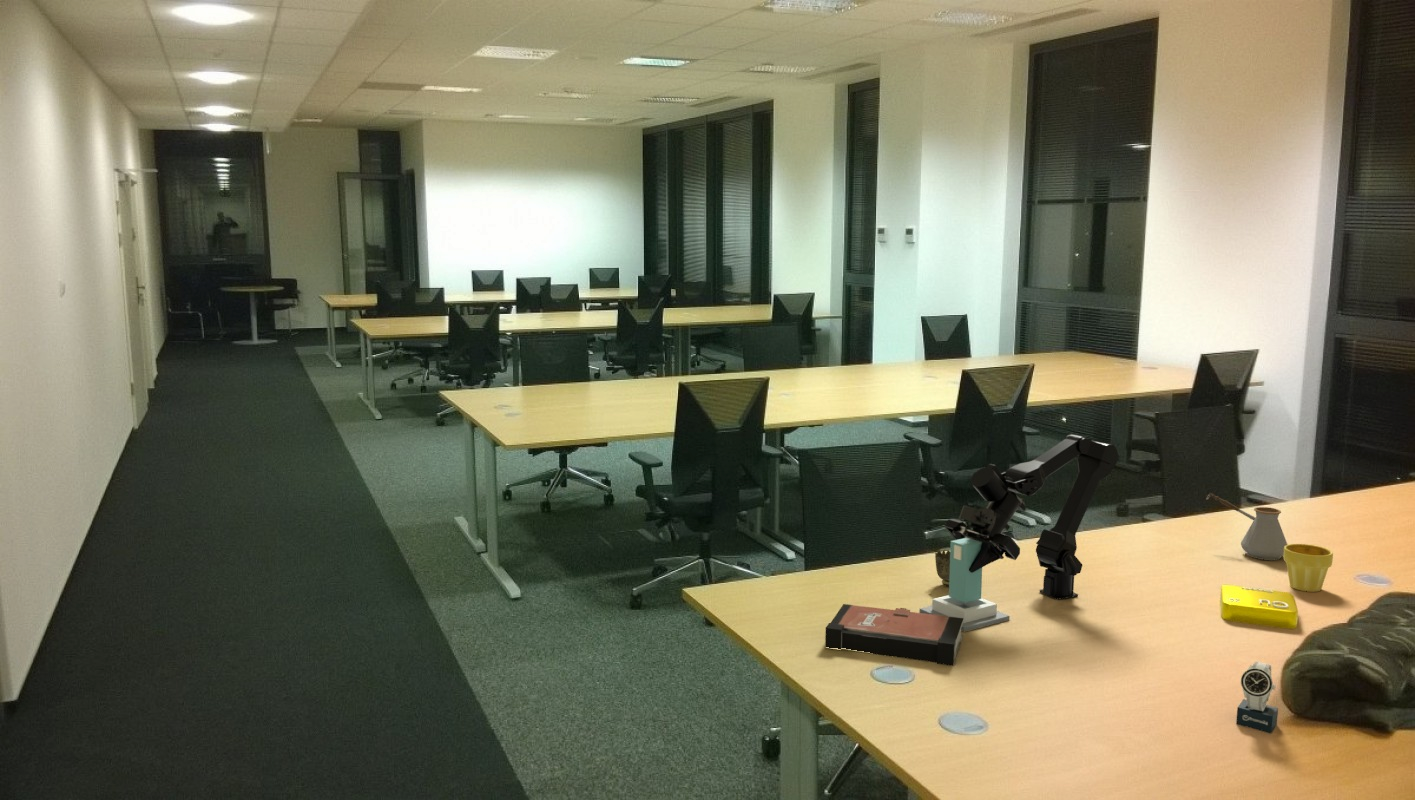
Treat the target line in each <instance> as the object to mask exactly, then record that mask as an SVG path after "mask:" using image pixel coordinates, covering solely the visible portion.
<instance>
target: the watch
mask: <svg viewBox="0 0 1415 800" xmlns="http://www.w3.org/2000/svg"><path fill="white" fill-rule="evenodd" d="M1240 685H1241V688H1242V691H1243V697H1244V698H1243V699H1242V701H1241V702H1240V703H1239V704H1238V706H1237V707H1236V708H1237V711H1236V721H1235V722H1236V723H1235V724H1236V725H1238V726H1240V727H1245V728H1249V729H1254V730H1257V731H1261V732H1264V733H1268V734H1272V733H1273V731H1274V730H1275V728H1276V727H1277V725H1278V715H1279V714H1278V713H1279V707H1277V706H1272V705H1268V704H1267V702H1269V699H1270V697H1271V693H1272V692H1273V691H1272V690H1276V689H1277V685H1275V684H1274V683H1273V678H1272V664H1268V663H1263V662H1259V661H1254V663H1253V664H1252V665H1251V664H1250V665H1249V666H1248V668H1247V670H1245V671H1244V672H1243V674H1242V675H1241V676H1240Z"/></svg>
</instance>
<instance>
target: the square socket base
mask: <svg viewBox="0 0 1415 800" xmlns="http://www.w3.org/2000/svg"><path fill="white" fill-rule="evenodd" d="M997 609H998V603H995V602H993V601H990V600H988V599H985V598H983V597H981V599H979V600H975V601H971V602H967V603H964V602H961V601H959V600H956V599H954V598H951V597H949V594H947V595H944V596H941V597H936V598H932V603H931V605H928V606H923V607H920V608H919V612H918V613H924V614H932V615H940V616H949V617H957V618H964V621H963V624H962V627H961V632H963V633H965V632H970V631H973V630H977V629H981V628H985V627H988V626H989V627H990V626H993V625H997V624H1001V623H1003V622H1007V621H1010V615H1008V614H1006V613H1004V612H1001V611H998V610H997Z"/></svg>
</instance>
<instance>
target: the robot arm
mask: <svg viewBox="0 0 1415 800" xmlns="http://www.w3.org/2000/svg"><path fill="white" fill-rule="evenodd" d="M1119 456H1120V454H1119V452H1118V449H1117V447H1116V446H1115V445H1114V444H1111V443H1107V442H1106V443H1105V442H1100V441H1096V440H1091V439H1089V438H1087V437H1086V436H1081V435H1077V434H1068V435H1066V436H1065V437H1064V439H1063V440H1062V441H1060V442H1058V443H1057V444H1056V445H1054V446H1052V447H1051V448H1050V449H1048V450H1046V451H1045V452H1043V453H1042V454H1040V455H1039V456H1037V457H1036V458H1034V459H1033V460H1030V461H1026V462H1020V463H1018V464H1015V465H1013V466H1011V467H1009V468H1008V469H1007V470H1006V471H1003V472H1001V471H1000V470H999V467H997V465H995V464H992V463H989V464H988V465H987V466H985V467H983V468H980V469H979V470H977V471H976V472H974V473H973V474H972V476H971V477H970V484H971V485H972V486H973V488H974V489H975V490H976V491H977V492H978V493H979V495H980V496H981V497H982V499H984V500H985V501H986V502H989V504H988V505H987V506H986V507H981V508H980V509H977V508H975V507H971V506H968V505H963V506H962V508H961V511H960V514H959V517H958V519H955V518H950V519H948V520H947V521H946V523H945V525H944V526H943V527H944V528H945V530H946V531H947V532H948V533H949V534H950V535H951V537H953V538H954V540H958V539H963V538H969V539H972V540H975V541H978V542H981V543H982V545H981V550H980V551H979V553H978V555H977V556H976V558H975V559H974V561H973V563H972V564H971V566H970V568H969V571H970V572H971V573H973V572H975V571H977V570H978V569H980V568H982V569H983V568H984V567H986V566H988V565H990V564H991V563H994V562H996V561H998V560H1004V558H1005V557H1006V558H1007V559H1008V558H1009V559H1011V560H1014V561H1016V560H1017V559H1018V558H1019V555H1020V554H1021V552H1020V551H1021V548H1020V546H1019V545H1018V544H1017V543H1016V541H1015V540H1014V539H1013V538H1012V537H1011V535H1006V534H1004V533H1003V531H1004V530H1005V531H1009V530H1010V528H1011V526H1010V525H1009V522H1010V521H1011V520H1012V517H1014V514H1015V513H1016V512H1017V510H1019V511H1023V512H1025V511H1026V510H1027V509H1026V504H1025V498H1022V497H1019V496H1018V495H1017V494H1021V495H1023V496H1028V497H1031V496H1033V495H1035V494H1036V493H1038V491H1039V490H1040V489H1041V488H1043V486H1044V485H1045V482H1046V479H1047V478H1048V477H1049V476H1051V475H1052V474H1054V473H1055V472H1057V471H1058V470H1059V469H1061V468H1062V467H1064V466H1065V465H1066V464H1068V463H1070V462H1071V461H1072V460H1074V459H1076V458H1077V457H1078V458H1077V466H1078V467H1077V468H1078V474H1077V475H1076V477H1075V478H1076V479H1075V481H1074V483H1073V485H1072V488H1071V489H1070V492H1069V494H1068V496H1067V499H1066V501H1065V502H1064V505H1063V507H1062V509H1061V512H1060V514H1059V516H1058V519H1057V521H1056V523H1055V525H1054V526H1053V527H1052V528H1050V529H1046V528H1043V530H1042V531H1041V534H1040V536H1039V539H1038V540H1037V541H1036V547H1035V553H1036V557H1037V560H1038V563H1039V567H1041V568H1045V570H1044V576H1043V586H1042V588H1041V589H1039V593H1041V594H1044V595H1046V596H1048V597H1049V598H1052V599H1055V600H1058V601H1059V600H1066V599H1070V598H1071V599H1072V598H1076V597H1078V596H1079V594H1078V593H1076V592H1075V591H1074V590H1075V589H1074V587H1075V576H1077V574H1080V573H1081V572H1082V567H1083V563H1082V562H1081V561H1080V560H1079V558H1078V557H1077V556H1076V552H1077V548H1078V547H1077V539H1076V534H1077V532H1078V530H1079V528H1080V525H1081V523H1082V521H1083V518H1084V516H1085V514H1086V511H1087V510H1088V507H1089V505H1090V502H1091V501H1092V498H1093V497H1094V494H1095V492H1096V490H1097V487H1098V485H1099V483H1100V481H1102V480H1103V479H1104V478H1106V477H1107V476H1109V474H1111V473H1112V471H1113V469H1114V468H1115V466H1116V465H1117V463H1118V461H1119ZM961 520H964V521H965V522H968V523H967V524H968V526H969V527H970V528H972V529H970V528H969V527H968V526H967V524H966V523H965V522H964V521H961ZM1004 556H1005V557H1004Z"/></svg>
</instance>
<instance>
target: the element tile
mask: <svg viewBox="0 0 1415 800" xmlns="http://www.w3.org/2000/svg"><path fill="white" fill-rule="evenodd" d="M1219 595H1220V597H1219V607H1220V610H1219V611H1220V618H1221V619H1223V620H1225V621H1229V622H1236V623H1243V624H1249V625H1257V626H1263V627H1264V626H1265V627H1273V628H1280V629H1286V630H1287V629H1289V630H1294V629H1295V630H1296V629H1297V627H1298V620H1299V619H1298V617H1299V610H1298V607H1297V606H1298V605H1297V603H1296V599H1295V595H1294V594H1292V593H1291V592H1288V591H1281V590H1273V589H1272V590H1271V589H1266V588H1265V589H1264V588H1256V587H1248V586H1240V585H1233V584H1232V585H1230V584H1223V585H1222V586H1221V587H1220V594H1219Z"/></svg>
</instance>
